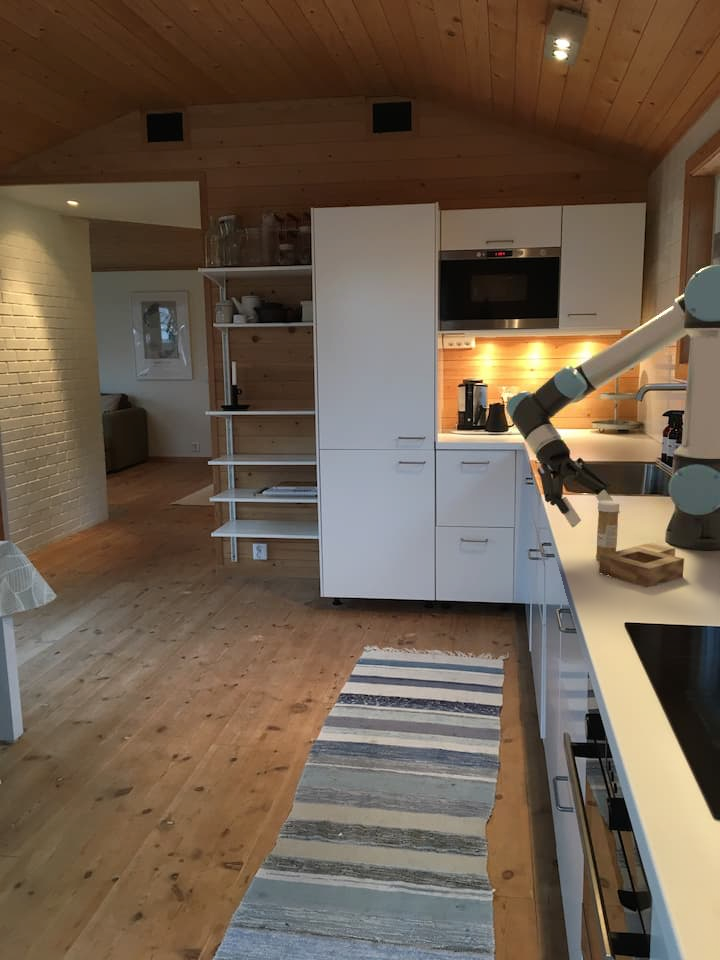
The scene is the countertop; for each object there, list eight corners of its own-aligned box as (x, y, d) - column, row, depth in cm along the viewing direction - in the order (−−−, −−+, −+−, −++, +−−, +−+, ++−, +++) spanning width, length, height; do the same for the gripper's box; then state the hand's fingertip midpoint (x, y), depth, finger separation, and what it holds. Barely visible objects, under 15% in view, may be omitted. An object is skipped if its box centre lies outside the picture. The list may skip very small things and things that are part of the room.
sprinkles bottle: (592, 557, 177) (594, 500, 174) (611, 556, 177) (614, 499, 175) (600, 562, 172) (603, 504, 170) (620, 561, 173) (622, 503, 170)
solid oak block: (650, 559, 174) (651, 542, 174) (674, 565, 169) (675, 547, 169) (634, 563, 171) (635, 546, 170) (657, 570, 166) (658, 552, 165)
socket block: (634, 563, 171) (635, 546, 170) (682, 576, 161) (684, 558, 160) (599, 573, 164) (600, 555, 163) (647, 587, 154) (648, 568, 154)
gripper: (574, 452, 194) (620, 521, 184) (503, 462, 180) (549, 536, 171) (592, 433, 189) (641, 503, 179) (520, 442, 175) (569, 518, 165)
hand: (596, 519), depth 175 cm, fingers open, 13 cm apart
